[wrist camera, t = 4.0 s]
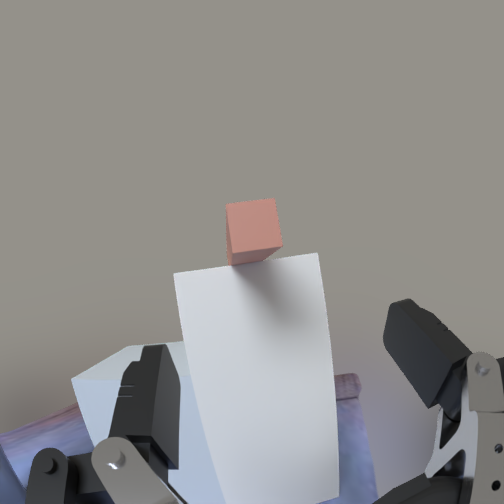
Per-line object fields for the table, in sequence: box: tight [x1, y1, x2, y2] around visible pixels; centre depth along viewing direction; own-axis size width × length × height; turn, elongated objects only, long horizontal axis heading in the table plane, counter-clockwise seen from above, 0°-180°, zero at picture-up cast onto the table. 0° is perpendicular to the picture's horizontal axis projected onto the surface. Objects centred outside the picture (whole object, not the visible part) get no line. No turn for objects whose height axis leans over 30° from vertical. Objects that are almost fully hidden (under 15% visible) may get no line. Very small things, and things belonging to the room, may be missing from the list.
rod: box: [226, 198, 283, 266], centre depth 31 cm, size 28×3×3 cm, turn 5°
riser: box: [71, 253, 339, 504], centre depth 34 cm, size 20×28×32 cm
